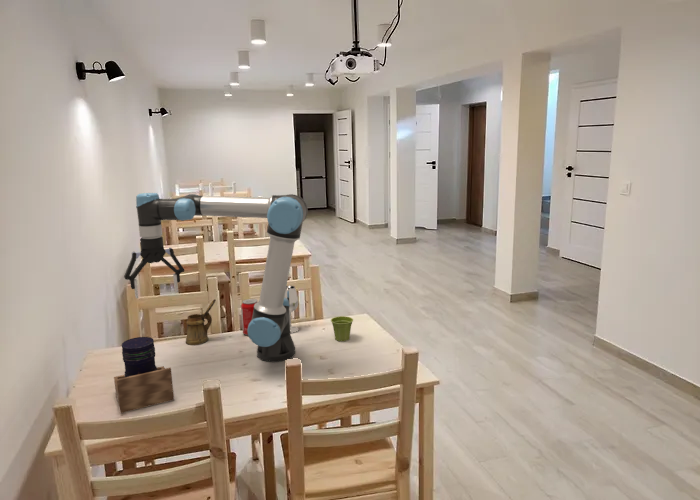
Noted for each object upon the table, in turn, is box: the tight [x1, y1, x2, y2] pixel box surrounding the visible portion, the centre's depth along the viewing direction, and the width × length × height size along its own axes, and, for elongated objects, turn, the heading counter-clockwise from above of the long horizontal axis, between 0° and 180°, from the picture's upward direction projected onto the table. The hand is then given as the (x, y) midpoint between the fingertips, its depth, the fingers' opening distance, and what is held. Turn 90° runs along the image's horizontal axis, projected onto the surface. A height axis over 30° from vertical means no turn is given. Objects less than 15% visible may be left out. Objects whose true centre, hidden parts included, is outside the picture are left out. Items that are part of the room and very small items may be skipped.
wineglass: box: [284, 285, 299, 334], centre depth 220 cm, size 8×8×20 cm
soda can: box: [240, 298, 258, 336], centre depth 218 cm, size 8×8×15 cm
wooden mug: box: [185, 299, 216, 346], centre depth 210 cm, size 9×14×18 cm, turn 102°
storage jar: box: [121, 336, 158, 377], centre depth 163 cm, size 10×10×15 cm
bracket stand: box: [113, 366, 175, 414], centre depth 164 cm, size 16×16×11 cm
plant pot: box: [330, 315, 354, 342], centre depth 210 cm, size 9×9×9 cm
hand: (157, 294), depth 180 cm, fingers open, 13 cm apart
